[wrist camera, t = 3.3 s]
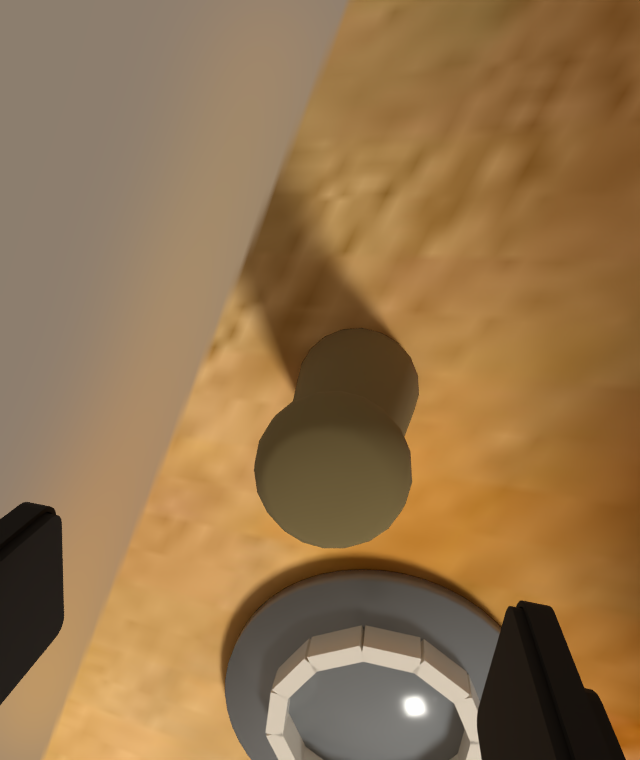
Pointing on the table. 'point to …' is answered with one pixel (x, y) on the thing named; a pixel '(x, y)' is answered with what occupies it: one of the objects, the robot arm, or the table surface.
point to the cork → (341, 442)
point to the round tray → (361, 671)
